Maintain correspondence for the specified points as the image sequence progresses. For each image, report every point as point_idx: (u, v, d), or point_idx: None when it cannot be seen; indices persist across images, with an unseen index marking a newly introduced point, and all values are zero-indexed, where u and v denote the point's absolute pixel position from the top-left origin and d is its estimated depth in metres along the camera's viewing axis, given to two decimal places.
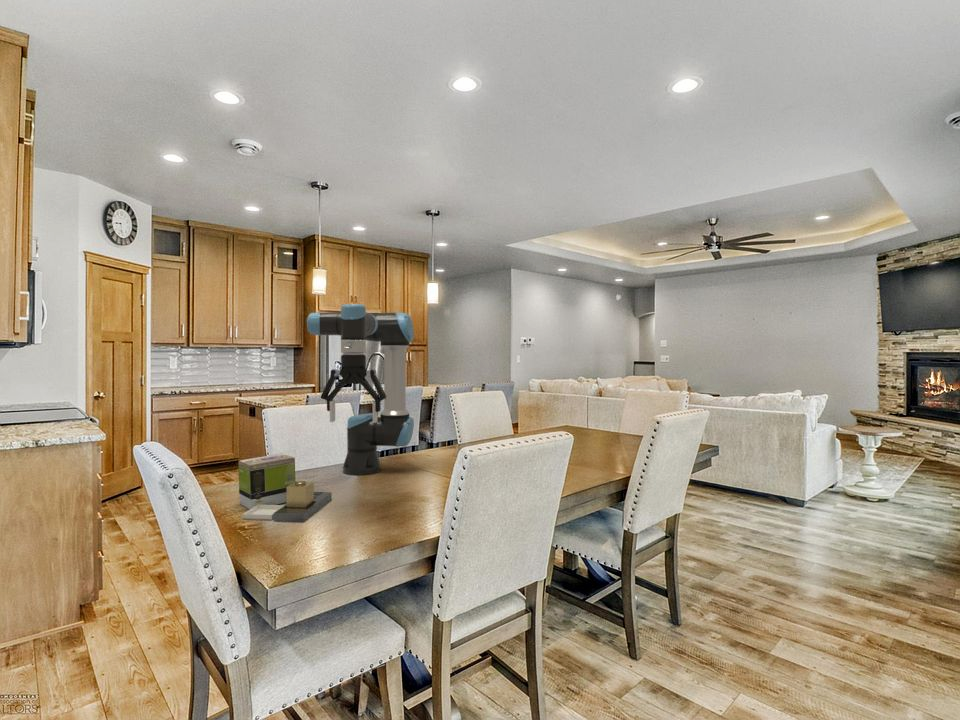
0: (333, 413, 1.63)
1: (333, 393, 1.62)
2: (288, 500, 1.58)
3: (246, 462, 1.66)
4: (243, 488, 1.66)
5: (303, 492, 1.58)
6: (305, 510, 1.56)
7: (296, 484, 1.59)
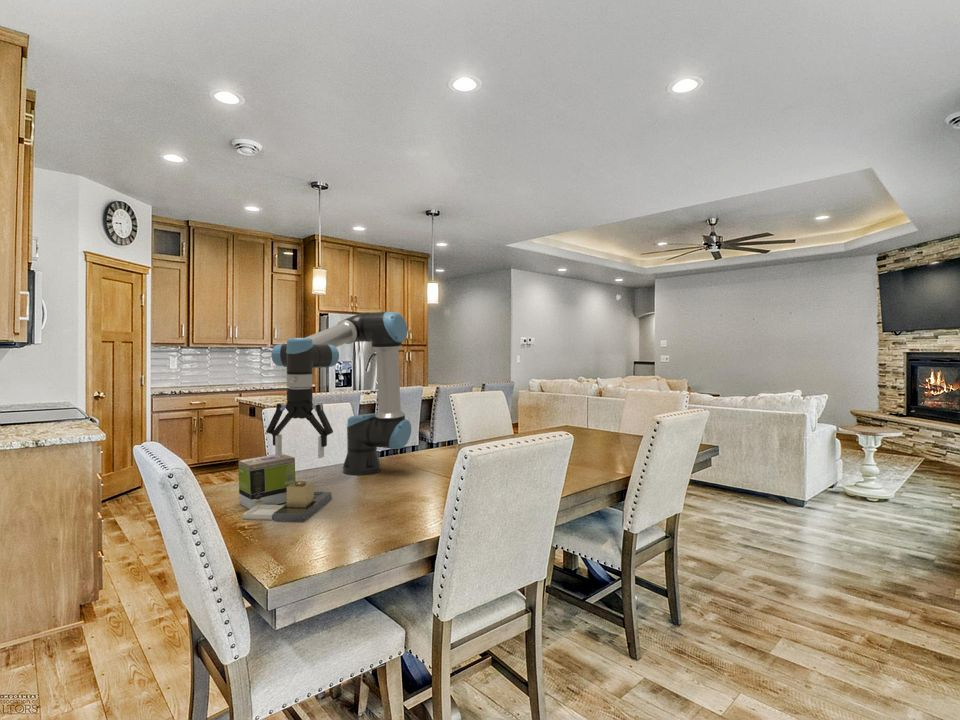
0: (279, 447, 1.61)
1: (279, 427, 1.59)
2: (288, 500, 1.58)
3: (246, 462, 1.66)
4: (243, 488, 1.66)
5: (303, 492, 1.58)
6: (305, 510, 1.56)
7: (296, 484, 1.59)
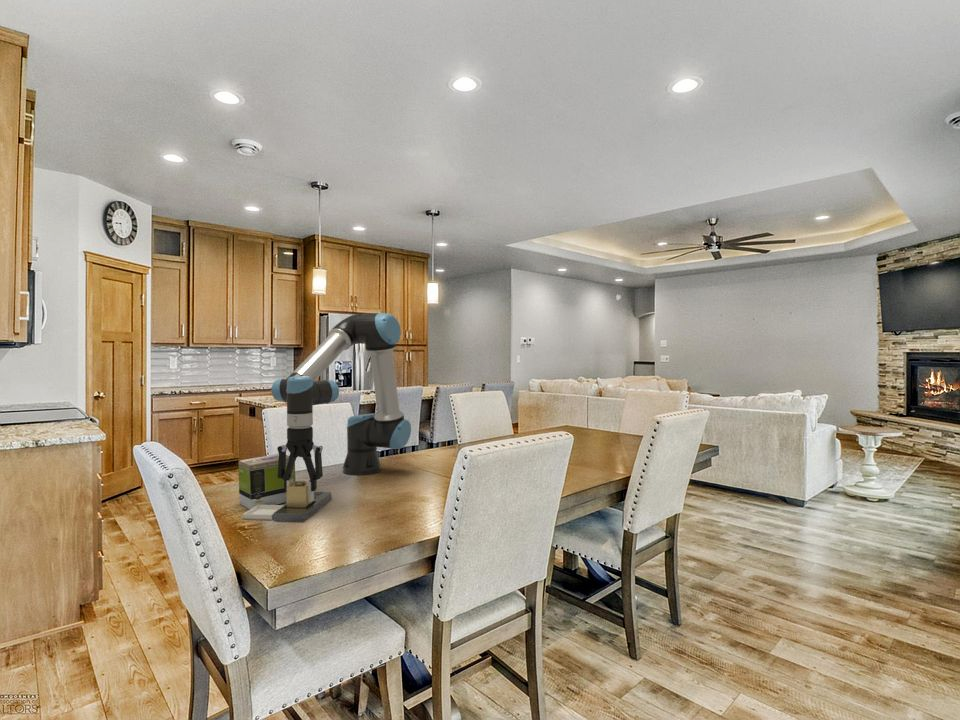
0: None
1: (287, 471, 1.60)
2: (288, 500, 1.58)
3: (246, 462, 1.66)
4: (243, 488, 1.66)
5: (303, 492, 1.58)
6: (305, 510, 1.56)
7: (296, 484, 1.59)
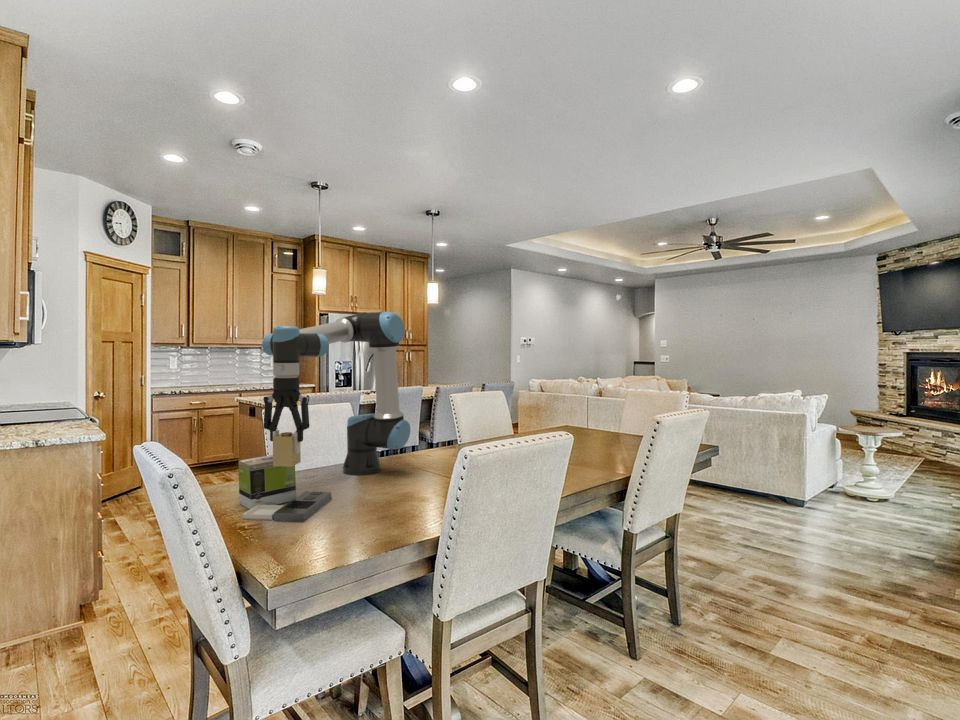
0: None
1: (274, 421, 1.58)
2: (274, 450, 1.57)
3: (246, 462, 1.66)
4: (243, 488, 1.66)
5: (290, 442, 1.56)
6: (305, 510, 1.56)
7: (282, 434, 1.58)
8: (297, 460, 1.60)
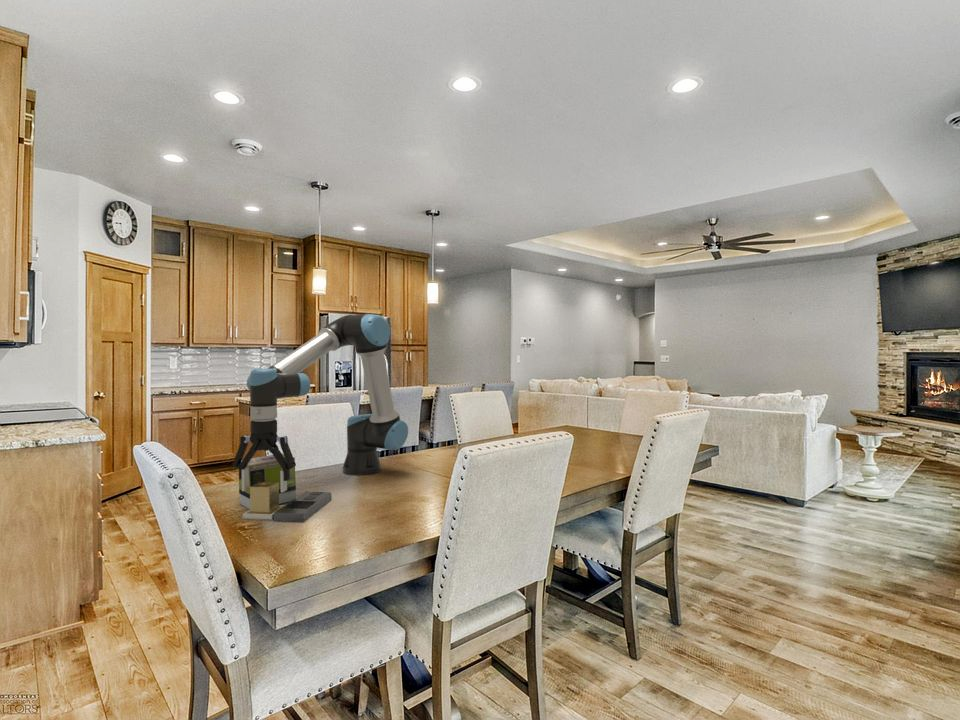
0: (245, 481, 1.59)
1: (244, 461, 1.58)
2: (251, 500, 1.56)
3: None
4: None
5: (267, 492, 1.56)
6: (305, 510, 1.56)
7: (260, 484, 1.57)
8: (275, 509, 1.59)
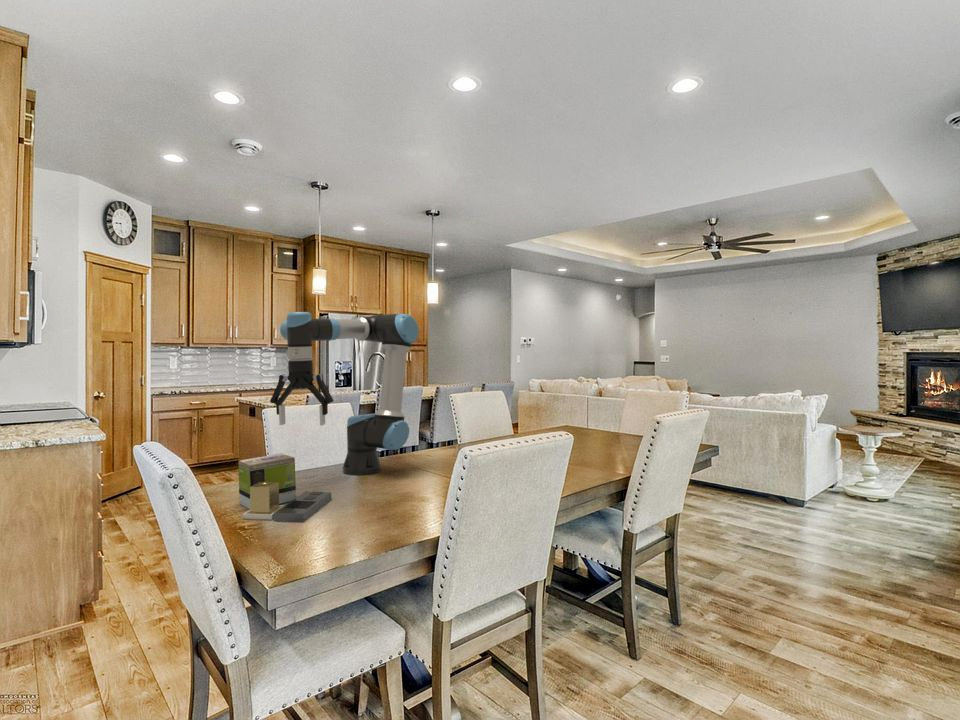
0: (282, 416, 1.70)
1: (282, 397, 1.69)
2: (251, 500, 1.56)
3: (246, 462, 1.66)
4: (243, 488, 1.66)
5: (267, 492, 1.56)
6: (305, 510, 1.56)
7: (260, 484, 1.57)
8: (275, 509, 1.59)
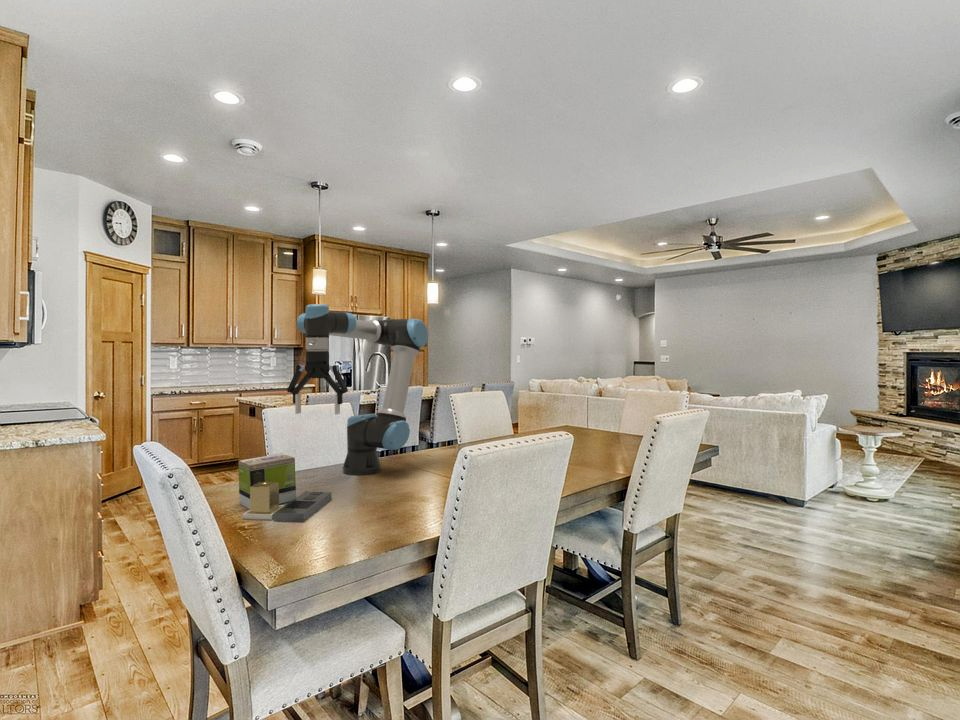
0: (298, 405, 1.75)
1: (298, 387, 1.74)
2: (251, 500, 1.56)
3: (246, 462, 1.66)
4: (243, 488, 1.66)
5: (267, 492, 1.56)
6: (305, 510, 1.56)
7: (260, 484, 1.57)
8: (275, 509, 1.59)
